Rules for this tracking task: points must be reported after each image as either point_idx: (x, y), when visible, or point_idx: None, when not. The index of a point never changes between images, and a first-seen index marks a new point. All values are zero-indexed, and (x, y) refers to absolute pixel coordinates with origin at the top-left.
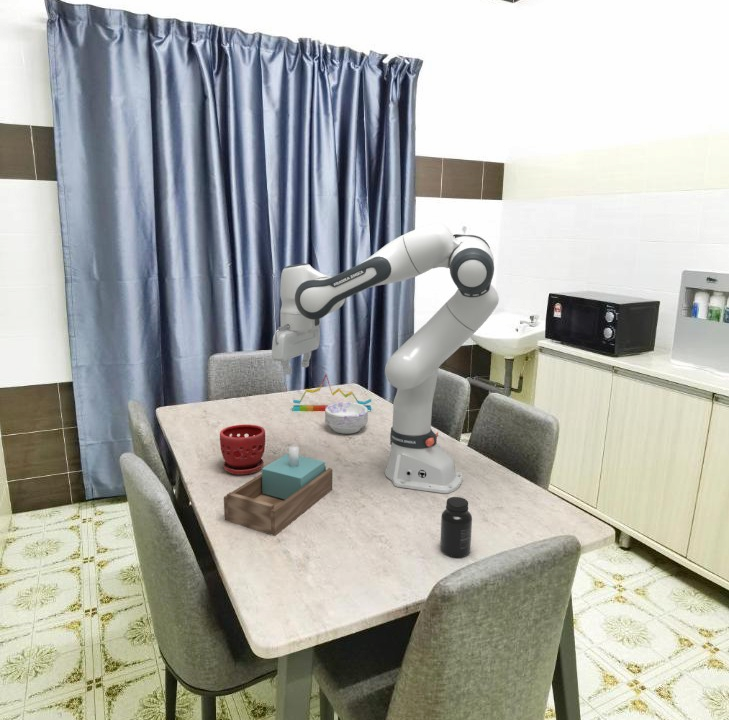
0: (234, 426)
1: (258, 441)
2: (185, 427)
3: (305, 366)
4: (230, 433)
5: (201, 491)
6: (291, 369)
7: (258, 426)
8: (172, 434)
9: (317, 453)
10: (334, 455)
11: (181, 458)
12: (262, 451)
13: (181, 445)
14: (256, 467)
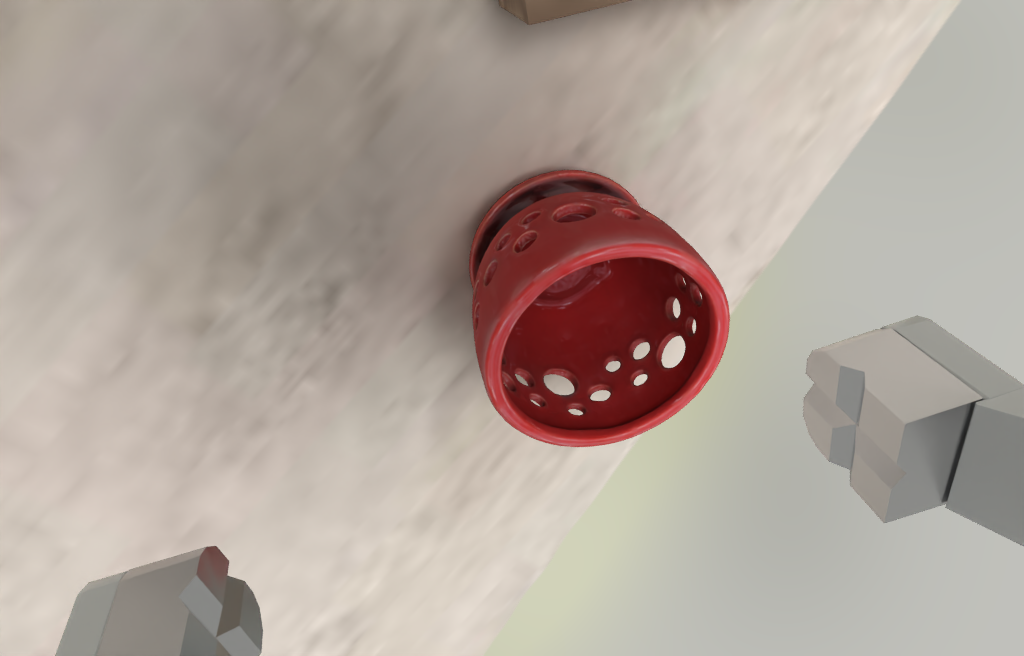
0: (572, 437)
1: (610, 224)
2: (435, 646)
3: (215, 564)
4: (583, 416)
5: (794, 192)
6: (889, 390)
7: (496, 364)
8: (505, 617)
9: (130, 130)
10: (40, 19)
11: (624, 457)
12: (546, 207)
13: (548, 539)
14: (568, 175)
